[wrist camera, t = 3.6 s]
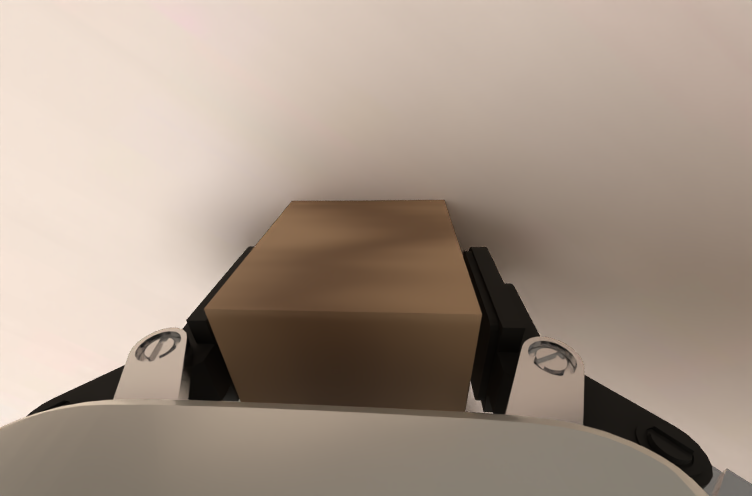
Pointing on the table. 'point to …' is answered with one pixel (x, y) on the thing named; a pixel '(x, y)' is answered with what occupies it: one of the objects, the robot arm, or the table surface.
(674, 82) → the table surface
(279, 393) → the walnut block
